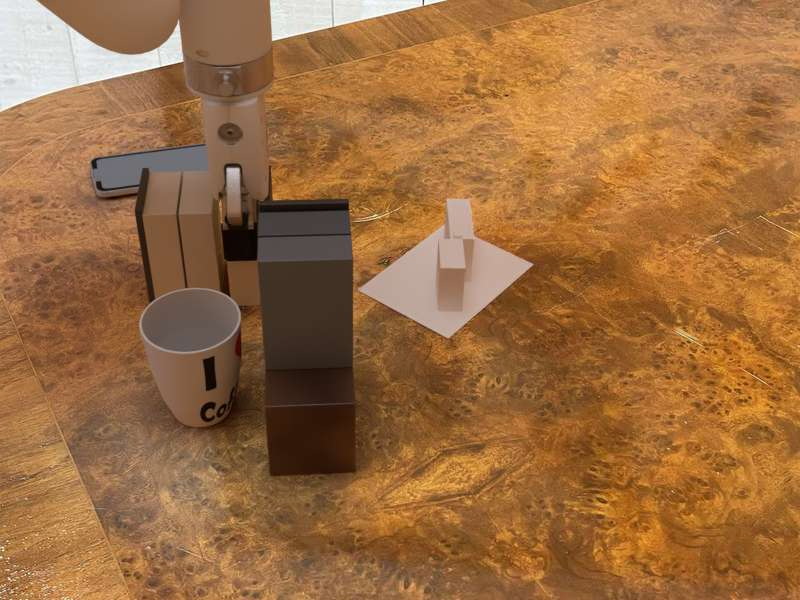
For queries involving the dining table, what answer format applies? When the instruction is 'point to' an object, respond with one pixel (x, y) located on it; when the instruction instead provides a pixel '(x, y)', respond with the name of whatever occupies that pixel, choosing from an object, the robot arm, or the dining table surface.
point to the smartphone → (126, 169)
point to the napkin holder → (447, 275)
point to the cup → (194, 352)
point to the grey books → (306, 283)
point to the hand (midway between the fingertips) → (243, 232)
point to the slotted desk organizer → (180, 231)
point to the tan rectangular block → (245, 271)
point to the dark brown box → (310, 420)
